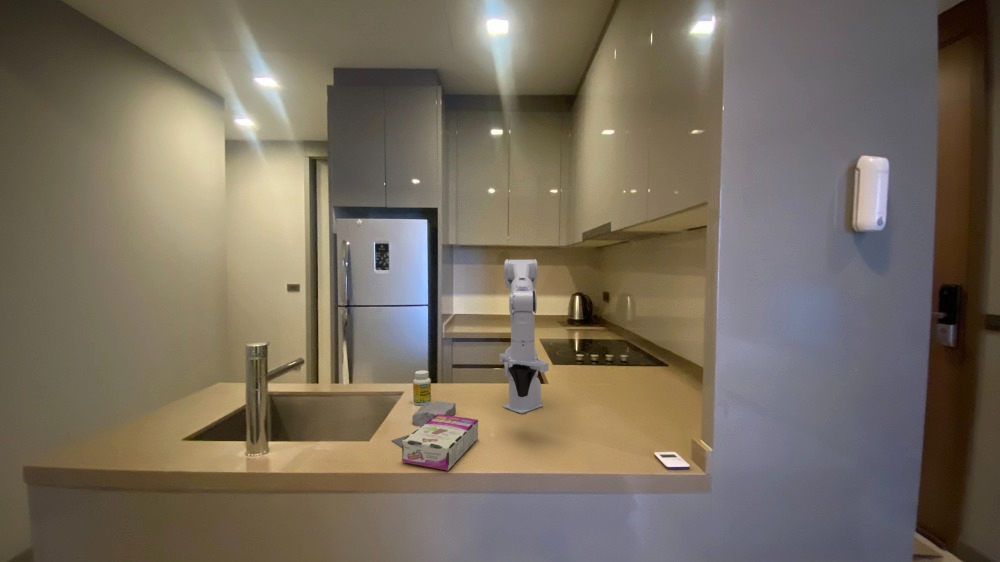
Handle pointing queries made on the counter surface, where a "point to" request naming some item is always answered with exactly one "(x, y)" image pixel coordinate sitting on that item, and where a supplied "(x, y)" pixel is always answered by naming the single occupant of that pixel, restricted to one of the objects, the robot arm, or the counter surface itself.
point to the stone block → (433, 411)
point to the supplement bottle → (421, 388)
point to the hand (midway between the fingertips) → (522, 395)
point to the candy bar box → (440, 441)
